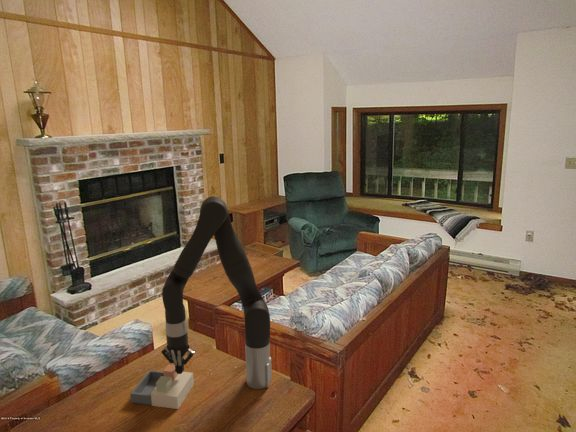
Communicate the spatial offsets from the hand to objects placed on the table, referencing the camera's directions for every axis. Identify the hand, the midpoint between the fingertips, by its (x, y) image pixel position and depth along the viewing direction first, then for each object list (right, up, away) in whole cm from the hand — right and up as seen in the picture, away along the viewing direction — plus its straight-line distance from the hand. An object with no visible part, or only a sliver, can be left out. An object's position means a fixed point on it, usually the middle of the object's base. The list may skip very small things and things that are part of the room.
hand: (179, 372), depth 157 cm
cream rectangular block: (-2, -8, -1) cm, 8 cm away
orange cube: (-3, -2, +1) cm, 4 cm away
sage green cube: (-4, -4, -6) cm, 8 cm away
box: (-11, -7, 0) cm, 13 cm away
